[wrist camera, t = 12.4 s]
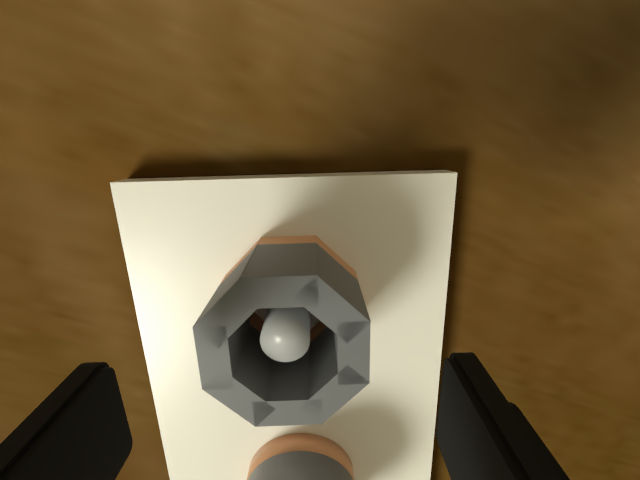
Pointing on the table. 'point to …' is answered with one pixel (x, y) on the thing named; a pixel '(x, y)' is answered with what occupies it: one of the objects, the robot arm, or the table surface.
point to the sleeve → (245, 329)
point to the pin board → (357, 233)
